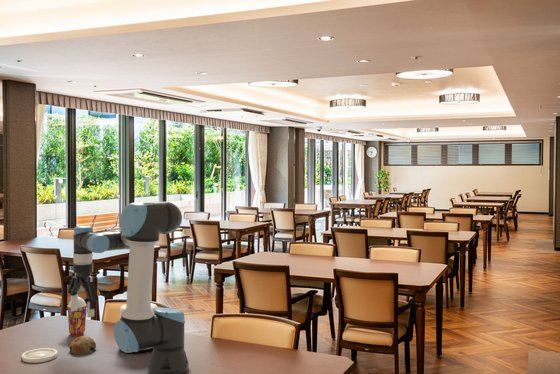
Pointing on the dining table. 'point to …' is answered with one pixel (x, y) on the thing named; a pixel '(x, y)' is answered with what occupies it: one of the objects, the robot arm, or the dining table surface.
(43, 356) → the plate
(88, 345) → the bread roll
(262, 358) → the dining table surface
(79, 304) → the smoothie
